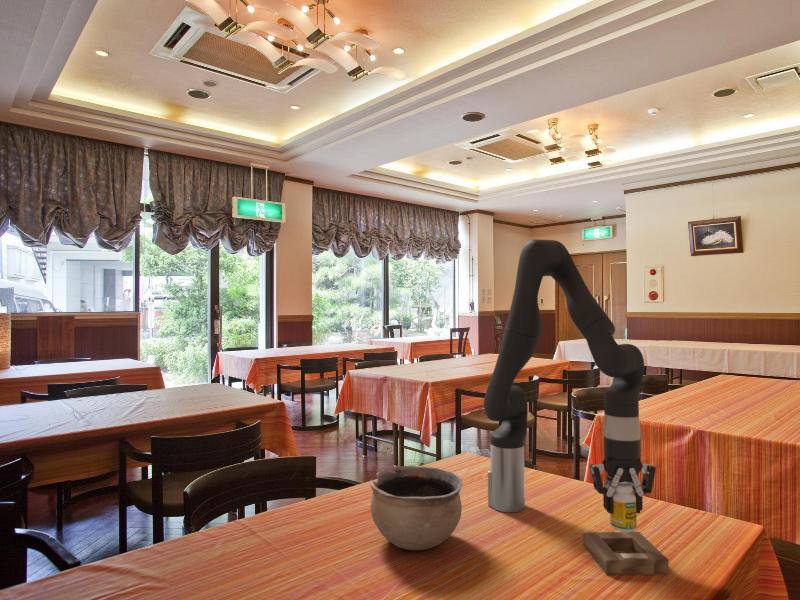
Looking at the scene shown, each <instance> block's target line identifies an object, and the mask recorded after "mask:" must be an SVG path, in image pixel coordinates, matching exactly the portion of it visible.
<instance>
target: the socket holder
mask: <svg viewBox="0 0 800 600" xmlns="http://www.w3.org/2000/svg"><path fill="white" fill-rule="evenodd" d="M582 536H583V540H582V541H583V542H582V543H583V544H582V545H583V546H584V549H586V551H587V552H588V553H589V555H590V556H591V557H592V558H593V560H594V561H595V562H596V563H598V564H599V565H598V564H597V565H598V566H599V567H600V569H601V568H602V569H601V570H602V572H604V574H605V575H606V576H614V575H615V576H617V575H618V576H619V575H624V576H627V575H629V576H630V575H635V576H636V575H669V573H670V572H669V568H670V567H669V565H670V563H669V559H668V558H667V557H666V555H664V554H663V553H662V552H661V551H660V550H659V549H658V548H657V547H656V546H655V545H654V544H652V542H650V541H649V540H648V539H647V538H646V536H644V535H643V534H642V533H641V532H639V531H633V532H621V531H612V532H611V531H608V532H607V531H606V532H605V531H603V532H602V531H600V532H598V531H597V532H595V531H594V532H589V531H588V532H583V535H582Z"/></svg>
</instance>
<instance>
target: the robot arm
mask: <svg viewBox="0 0 800 600" xmlns="http://www.w3.org/2000/svg"><path fill="white" fill-rule="evenodd" d="M517 264H518V265H517V272H516V279H515V284H514V285H515V286H514V290H513V294H512V300H511V304H510V309H509V314H508V317H507V319H506V324H505V327H504V330H503V335H502V339H501V340H502V341H501V345H500V349H499V353H498V355H497V356H498V357H497V359H496V363H495V366H494V369H493V372H492V374H491V378H490V380H489V381H488V385H487V388H486V390H485V394H484V398H483V411H484V414H485V415H486V417H487V418H488V420H490V421H493V422H501V424H500V425H499V426H498V427H497V428H496V429H495V430H494V431H492V432H491V434H490V438H489V439H490V448H489V449H490V469H489V470H488V472H487V506H489V507H491V508H493V509H494V510H497V511H498V512H503V513H518V512H521V511H523V510H525V508H526V507H525V506H526V505H525V504H526V503H525V502H526V497H525V495H526V494H525V493H526V492H525V491H526V489H525V486H526V485H525V439H526V437H527V432H528V408H529V406H528V399H527V395H526V393H525V391H524V390H523V389H522V388H521V387H520V386H518V385H513V384H514V382H515V379H516V377H517V376H518V375H519V373H520V372H521V371H522V369H524V367H525V366H526V365H527V364H528V363H529V361H531V359H532V357H533V356H534V354H535V353H536V351H537V348H538V344H539V342H540V337H541V334H542V331H543V319H542V315H541V310H540V308H539V307H540V306H539V302H538V301H539V300H538V297H539V292H540V287H541V284H542V281H543V278H544V277H551V278H552V279H553V280H554V281H555V282H556V283H557V284H558V285H559V287H560V288H561V289H562V291H563V293H564V296H565V301H566V306H567V310H568V313H569V314H568V315H569V317H570V318H571V320H572V322H573V324H574V325H575V327H576V328H577V330H578V331H579V332H580V333H581V335H582V337H583V338H584V339H585V341H586V343H587V346H588V349H589V351H590V353H591V354H590V355H591V357H592V360H593V361H594V364H595V366H597V368H598V369H599V370H600V371H601V372H602V373H603V374H604V375H605V376H607V377H610V378H613V380H612V383H611V385H610V386H608V387H607V388H606V389H605V391H604V395H603V396H604V397H603V406H604V409H603V410H604V415H603V423H602V424H603V429H602V433H603V460H602V462H601V463H599V464H594V463H590V465H589V471H590V475H591V479H592V480H591V481H592V484H593V488H594V490H595V491H596V492H597V494H599V495H602V499H603V501H602V502H603V509H604V510H605V511H606V512H607V513H608V514H609V515H610V514H612V513H613V497H612V494H613V491H614V489H615V488H616V487H617V484H618V483H621V482H628V483H631V484H632V487H633V491H632V493H633V494H634V495H635V497H636V514H641V511H643V506H644V505H643V504H644V503H643V501H644V499H643V496H644V495H647V494H651V493H652V492H653V486H654V483H655V482H654V481H655V476H656V475H655V474H656V467H655V466H654V465H652V464H650V463H649V462H646V463H643V462H642V459H641V456H642V446H641V445H642V444H641V422H640V410H639V409H640V407H639V406H640V405H639V394H640V391H641V389H642V383H643V377H644V373H645V359H644V355H643V352H642V351H641V349H640V348H638V347H637V346H636V345H634V344H631V343H622V344H618V343H617V342H616V340H615V338H614V334H615V332H616V327H615V325H614V323H613V321H612V320H611V319H610V317H609V315H607V313H606V311H604V309H603V308H602V307H601V305H600V304H599V302H598V301H597V300H596V298H595V297H594V296H593V294H592V293H591V291H590V289H589V287H588V286H587V284H586V282H585V281H584V279H583V276H582V275H581V274H580V271H579V269H578V267H577V265H576V264H575V262H574V260H573V257H572V256H571V254H570V252H569V250H568V249H567V247H566V246H565V244H564V243H562V242H560V241H558V240H555V239H539V238H538V239H537V238H536V239H531V240H529V241H527V242H526V243H525V244H524V245H523V247H522V249H521V251H520V255H519V258H518V263H517ZM604 471H605V473H606V476H605V479H604V484H603V479H602V475H603V472H604ZM640 472H642V473H643V474H642V480H641V481H640V480H639V477H638V475H639V474H640Z"/></svg>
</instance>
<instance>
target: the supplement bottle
mask: <svg viewBox="0 0 800 600" xmlns="http://www.w3.org/2000/svg"><path fill="white" fill-rule="evenodd" d="M633 493H634V491H633V487H632V484H631V483H629V482H621V483H618V484H617V487H616V488H615V489H614V491H613V494H612V497H613V513H612V514H609V516H610V518H609V519H610V520H609V521H610V527H611V528H613V530H616V531H617V532H636V530H637V527H638V526H637V513H636V497H635V495H634V494H633Z"/></svg>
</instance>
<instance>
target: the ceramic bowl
mask: <svg viewBox="0 0 800 600" xmlns="http://www.w3.org/2000/svg"><path fill="white" fill-rule="evenodd" d="M463 484H464V483H463V480H462V479H461V477H460V476H459V475H457V474H456V473H454V472H452V471H447V470H444V469H441V468H438V467H431V466H419V465H417V466H416V465H401V466H395V467H394V468H393V471H392V470H390V469H382V470H381V471H379V472H376V481H374V480H373V479H371V480H370V487H371V489H372V490H371V491H372V495H371V497H370V498H371V500H370V513H371V517H372V519H373V522H374V524H375V526H376V527H377V530H378V531H379V532H380V534H381V535H382V536H383V537H384V538H385V539H386V540H387V541H388V542H389V543H391V544H392V545H393V546H396V548H397V547H398V548H399V549H403V550H408V551H423V550H428V549H431V548H434V547H437V546H439V545H440V544H442V543H443V542H444V541H445V540H447V539H448V538H449V537H450V536H451V535H452V534H453V533H454V532H455V530H456V529H457V527H458V524H459V523H460V521H461V517H462V507H463V506H462V500H461V496H460V492H461V490H462V488H463Z"/></svg>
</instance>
